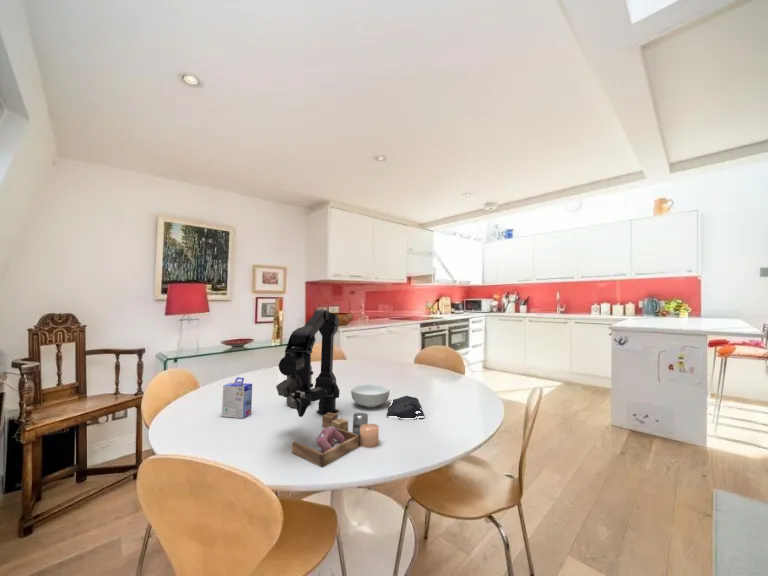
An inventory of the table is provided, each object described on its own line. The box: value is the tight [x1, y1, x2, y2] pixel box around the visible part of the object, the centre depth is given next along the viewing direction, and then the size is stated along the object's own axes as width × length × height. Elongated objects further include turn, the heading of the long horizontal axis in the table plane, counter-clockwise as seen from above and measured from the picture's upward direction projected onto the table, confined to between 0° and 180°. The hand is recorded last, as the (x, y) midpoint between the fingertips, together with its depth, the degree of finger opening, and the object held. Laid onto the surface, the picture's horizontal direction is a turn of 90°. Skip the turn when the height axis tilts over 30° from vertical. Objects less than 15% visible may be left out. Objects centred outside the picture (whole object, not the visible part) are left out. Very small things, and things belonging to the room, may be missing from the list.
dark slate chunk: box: [386, 395, 425, 418], centre depth 129 cm, size 15×22×5 cm
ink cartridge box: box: [221, 376, 253, 419], centre depth 122 cm, size 10×6×14 cm, turn 78°
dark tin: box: [352, 412, 369, 435], centre depth 106 cm, size 5×5×6 cm
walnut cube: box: [321, 412, 339, 428], centre depth 112 cm, size 4×4×4 cm
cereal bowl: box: [350, 383, 390, 408], centre depth 135 cm, size 17×17×7 cm
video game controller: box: [316, 426, 345, 453], centre depth 95 cm, size 10×5×7 cm, turn 166°
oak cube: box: [332, 417, 349, 431], centre depth 106 cm, size 4×4×4 cm
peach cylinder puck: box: [360, 423, 380, 448], centre depth 98 cm, size 6×6×5 cm
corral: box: [291, 426, 361, 468], centre depth 94 cm, size 16×13×3 cm
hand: (301, 416), depth 101 cm, fingers closed
